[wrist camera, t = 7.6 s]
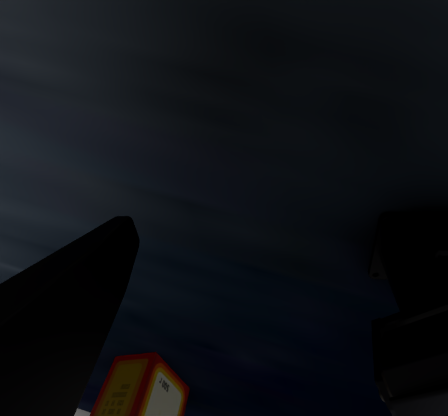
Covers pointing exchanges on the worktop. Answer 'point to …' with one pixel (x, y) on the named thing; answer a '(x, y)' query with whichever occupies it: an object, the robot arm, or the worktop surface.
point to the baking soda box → (141, 388)
